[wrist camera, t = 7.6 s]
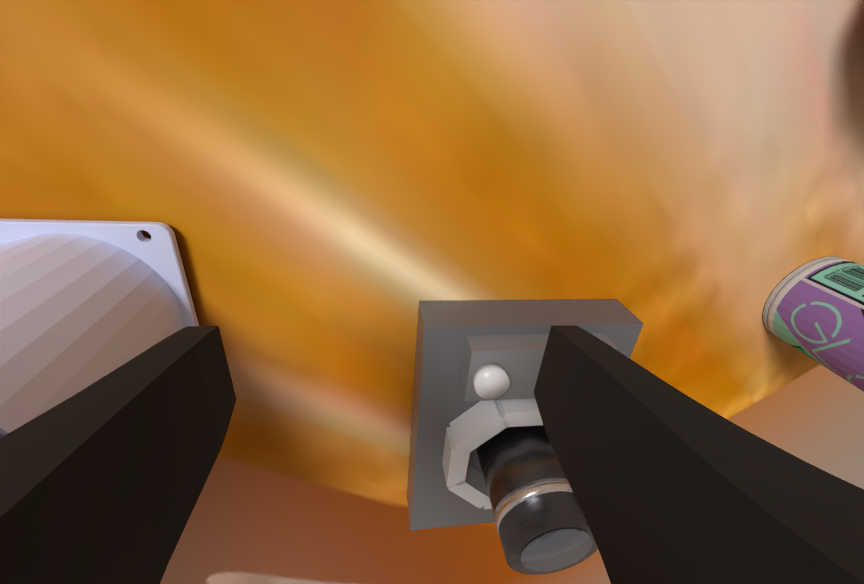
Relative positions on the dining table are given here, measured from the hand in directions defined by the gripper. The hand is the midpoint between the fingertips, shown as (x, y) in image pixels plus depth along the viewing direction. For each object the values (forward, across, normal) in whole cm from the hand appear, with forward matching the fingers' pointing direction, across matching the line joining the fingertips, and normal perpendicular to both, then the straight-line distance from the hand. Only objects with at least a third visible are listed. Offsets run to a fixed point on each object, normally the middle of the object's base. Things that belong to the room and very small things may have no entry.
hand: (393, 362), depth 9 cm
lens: (+8, -7, +12) cm, 16 cm away
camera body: (+10, -7, +12) cm, 17 cm away
